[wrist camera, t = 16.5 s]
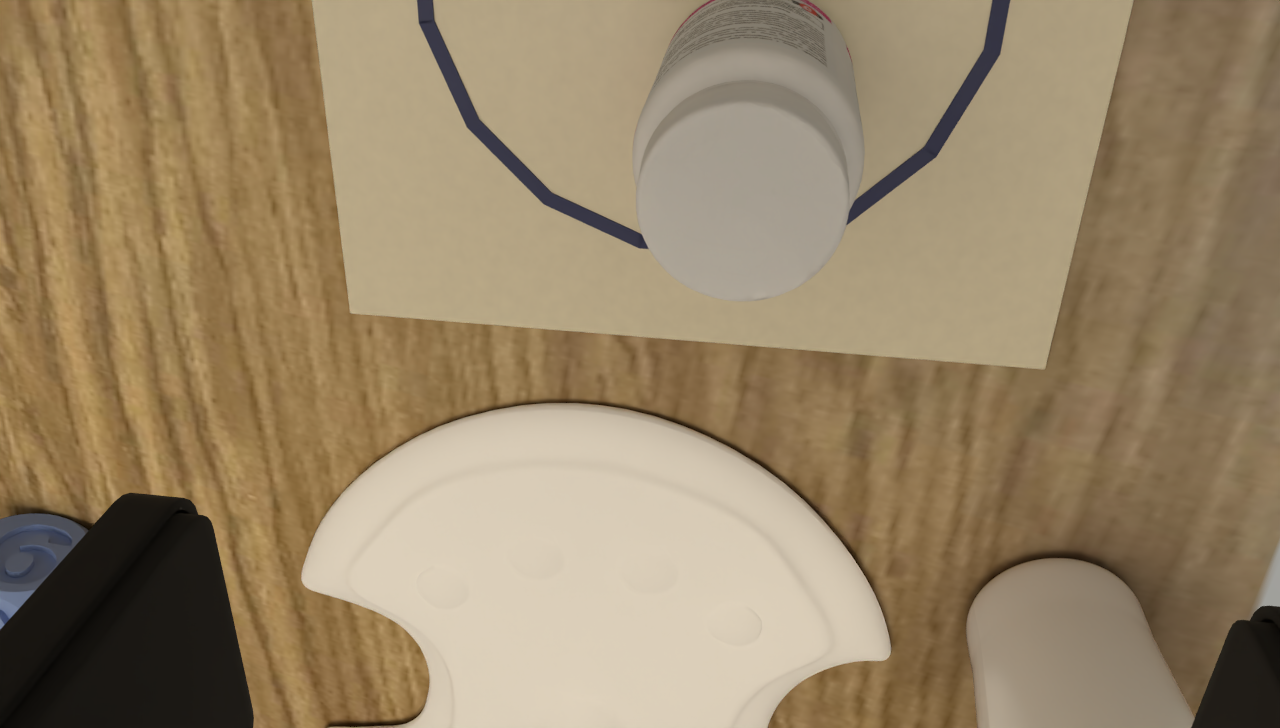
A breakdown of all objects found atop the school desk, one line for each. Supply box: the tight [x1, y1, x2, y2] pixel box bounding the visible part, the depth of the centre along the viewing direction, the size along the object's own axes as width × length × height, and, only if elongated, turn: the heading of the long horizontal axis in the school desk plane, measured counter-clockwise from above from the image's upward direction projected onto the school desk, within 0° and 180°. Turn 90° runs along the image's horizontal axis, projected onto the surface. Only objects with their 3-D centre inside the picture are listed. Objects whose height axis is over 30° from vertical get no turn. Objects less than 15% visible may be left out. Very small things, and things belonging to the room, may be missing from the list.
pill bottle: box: [632, 0, 865, 301], centre depth 24 cm, size 5×5×8 cm
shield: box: [301, 403, 891, 728], centre depth 39 cm, size 20×2×25 cm
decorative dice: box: [0, 513, 89, 629], centre depth 38 cm, size 4×4×4 cm
